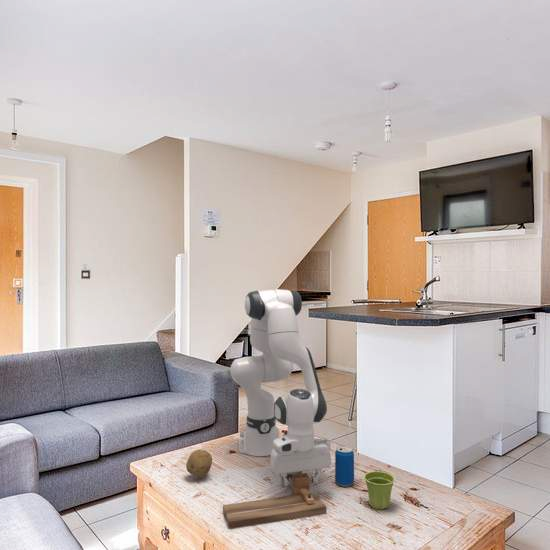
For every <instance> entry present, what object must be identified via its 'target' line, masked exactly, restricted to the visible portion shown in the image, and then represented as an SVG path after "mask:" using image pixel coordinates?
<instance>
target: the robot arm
mask: <svg viewBox="0 0 550 550" xmlns="http://www.w3.org/2000/svg"><path fill="white" fill-rule="evenodd" d="M302 303H303V300H302V296H301V294H300V293H299V292H298V291H297V290H293V289H280V288H279V289H275V288H274V289H266V290H254V291H250V292H248V293H247V294H246V297H245V300H244V310H245V313H246V315H247V316H248V317H249V318H251V321H250V322H251V324H250V332H249V333H250V335H249V341H250V343H249V344H250V345H251V347H253V348H254V349H255V350H257V351H259V352H261V353H262V355H253V356H252V355H251V356H244V357H238V358H236V359H234V360H233V361H232V363H231V365H230V368H229V371H230V372H229V373H230V377H231V379H232V380H233V382H234V383H237V385H238V386H240V387H241V389H242V390H243V391H244V394H245V396H246V401H247V415H246V425H245V426H244V428H243V431H240V432H239V438H238V440H237V441H238V442H237V443H238V453H240V454H246V455H249V456H253V457H267V456H270V459H269V469H270V471H271V472H272V473H273V474H274V475H275V476H276V475H280V476H281V475H282V477H283V478H284V484H285V486H284V487H286V488H287V487H289V486H290V480H289V479H286V477H285V476H287V473H292V472H299V471H302V472H306V471H314V474H313V475H311V482H312V483H313V484H314V483H318V480H319V476H320V474H321V472H322V470H323V469H328V468H330V467H331V465H332V456H331V452H330V451H331V441H330V440H328V439H327V438H317V439H316V438H315V429H314V423H320V422H321V421H322V420H323V419H324V418H325V417H326V415H327V413H328V412H327V411H328V405H327V403H326V402H327V401H326V399H325V395H324V394H323V391H322V389H321V386H320V381H319V378H318V375H317V370H316V367H315V362H314V359H313V357H312V353H311V351H310V349H309V348H308V347H306V346H305V345H304V344H303V342H302V340H301V337H300V331H299V324H298V320H297V319H298V318H297V316H298V315H299V314H300V313H301V311H302V307H303V306H302V305H303V304H302ZM292 363H293V364H294V365H296V366H298V368H300V371H301V373H302V376H303V381H304V385H305V388H306V389H302V388H296V389H294V388H293V389H292V390H290V391H288V394H285V395H281V396H279V397H277V399H276V401H275V398H274V396H273V394H272V392H269V391H268V390H265V389H262V387H261V385H262V383H265V384H266V383H274V382H275V383H277V382H280V381H284V380H287V379H288V378H289V377H290V376H291V373H292ZM276 421H277V422H278V423H280V424H282V425H286V426H287V430H286V432H287V434H286V435H284V434H283V435H284V436H283V435H281V436H280V429H279V428H278V427H277V426H276V425H277V423H276Z"/></svg>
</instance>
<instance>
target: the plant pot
mask: <svg viewBox="0 0 550 550" xmlns="http://www.w3.org/2000/svg"><path fill="white" fill-rule="evenodd" d="M363 479H364V481H365V484H366V487H367V489H366V490H367V494H368V501H369V505H370V506H371V507H372V508H373V509H375V510H376V509H377V510H384V509H388V508H389V507H390V503H391V496H392V489H393V486H394V483H395V481H396V479H395V477H394V476H393V474H391V473H388V472H384V471H374V470H373V471H368V472H366V473H365V474H364V476H363Z"/></svg>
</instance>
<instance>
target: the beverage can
mask: <svg viewBox="0 0 550 550" xmlns="http://www.w3.org/2000/svg"><path fill="white" fill-rule="evenodd" d="M334 454H335V455H334V459H335V461H334V462H335V463H334V465H335V466H334V469H335V471H334V474H335V475H334V478H335V480H334V481H335V483H336V484H337V485H338V486H340V487H345V488H346V487H347V488H348V487H351V486H352V485H353V484H354V483H355V452H354V450H353V448H352V447H351V446H349V445H348V446H346V445H341V446H337V447H336V450H335V453H334Z"/></svg>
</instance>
